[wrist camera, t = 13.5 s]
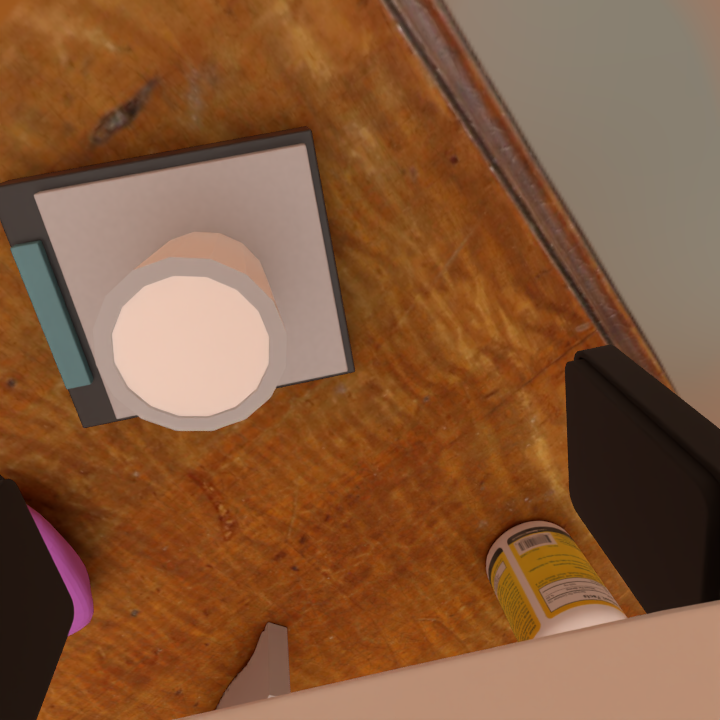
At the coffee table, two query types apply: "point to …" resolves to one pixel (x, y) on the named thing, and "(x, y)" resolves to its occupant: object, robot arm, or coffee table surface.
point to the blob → (68, 571)
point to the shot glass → (192, 335)
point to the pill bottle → (546, 582)
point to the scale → (166, 222)
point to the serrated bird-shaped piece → (262, 671)
